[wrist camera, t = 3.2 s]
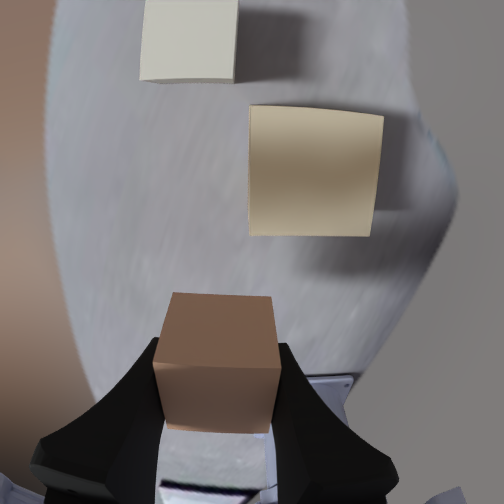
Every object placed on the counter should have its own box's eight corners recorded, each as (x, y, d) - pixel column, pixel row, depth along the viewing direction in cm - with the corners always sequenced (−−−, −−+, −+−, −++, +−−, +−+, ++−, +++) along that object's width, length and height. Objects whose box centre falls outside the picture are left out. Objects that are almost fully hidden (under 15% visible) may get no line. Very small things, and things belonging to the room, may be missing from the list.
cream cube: (234, 84, 15) (232, 78, 12) (161, 84, 15) (139, 80, 12) (239, 17, 14) (238, -6, 10) (165, 18, 13) (145, -2, 10)
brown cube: (263, 364, 15) (268, 433, 11) (179, 360, 15) (167, 428, 11) (271, 296, 13) (281, 368, 9) (173, 292, 13) (152, 361, 9)
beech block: (346, 209, 19) (369, 236, 15) (247, 208, 19) (249, 235, 15) (355, 111, 16) (383, 116, 13) (249, 105, 16) (251, 105, 13)
